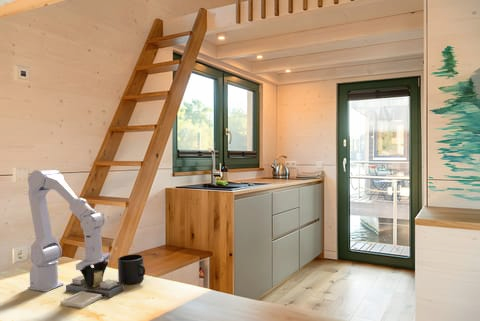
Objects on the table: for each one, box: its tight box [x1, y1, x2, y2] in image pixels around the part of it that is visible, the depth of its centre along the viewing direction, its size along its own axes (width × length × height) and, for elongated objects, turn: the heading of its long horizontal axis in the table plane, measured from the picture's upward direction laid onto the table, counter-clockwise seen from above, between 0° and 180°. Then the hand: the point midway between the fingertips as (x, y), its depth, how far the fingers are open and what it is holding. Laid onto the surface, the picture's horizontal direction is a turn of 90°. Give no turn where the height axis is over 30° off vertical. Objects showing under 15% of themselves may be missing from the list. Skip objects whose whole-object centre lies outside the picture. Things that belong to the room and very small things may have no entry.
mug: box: [117, 253, 146, 285], centre depth 141 cm, size 9×12×9 cm
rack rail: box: [65, 275, 124, 299], centre depth 132 cm, size 20×7×4 cm, turn 68°
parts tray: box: [60, 291, 103, 309], centre depth 123 cm, size 9×9×1 cm
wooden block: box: [86, 270, 104, 289], centre depth 132 cm, size 4×4×7 cm
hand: (94, 284), depth 132 cm, fingers closed on wooden block, 4 cm apart
